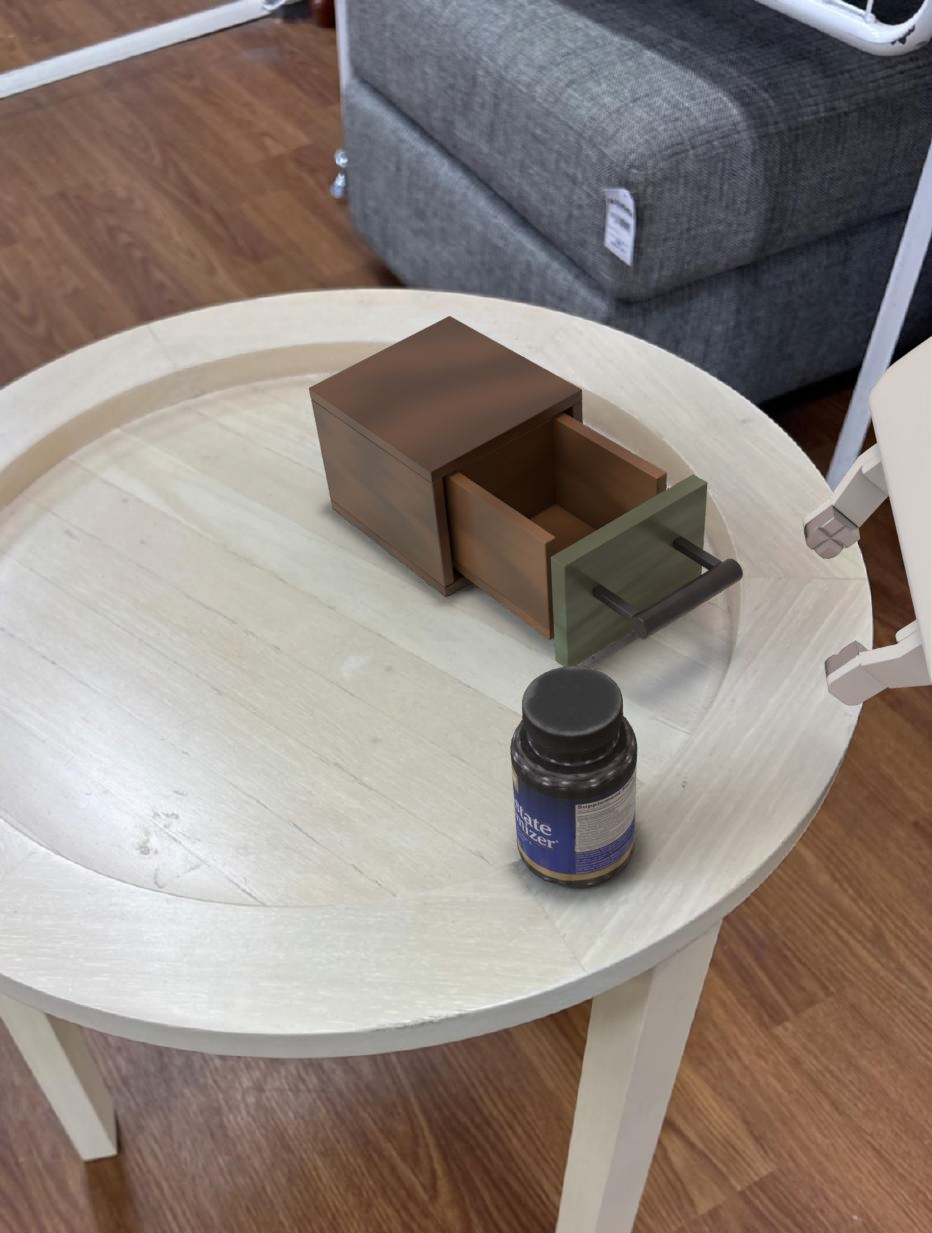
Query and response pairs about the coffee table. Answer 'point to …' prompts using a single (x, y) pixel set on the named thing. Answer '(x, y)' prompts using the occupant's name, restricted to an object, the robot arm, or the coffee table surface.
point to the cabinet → (425, 433)
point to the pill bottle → (574, 778)
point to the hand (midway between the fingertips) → (823, 610)
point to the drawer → (581, 537)
